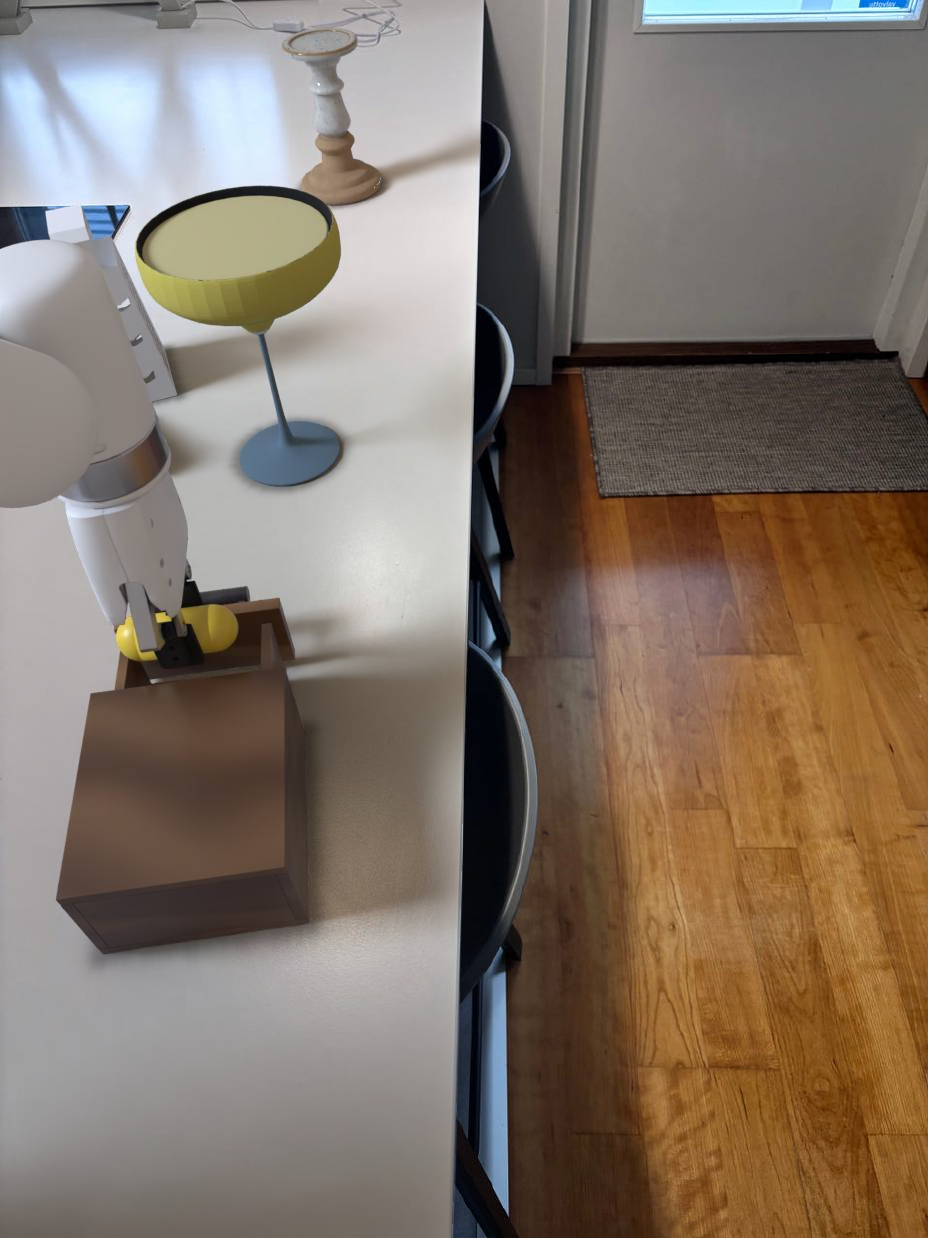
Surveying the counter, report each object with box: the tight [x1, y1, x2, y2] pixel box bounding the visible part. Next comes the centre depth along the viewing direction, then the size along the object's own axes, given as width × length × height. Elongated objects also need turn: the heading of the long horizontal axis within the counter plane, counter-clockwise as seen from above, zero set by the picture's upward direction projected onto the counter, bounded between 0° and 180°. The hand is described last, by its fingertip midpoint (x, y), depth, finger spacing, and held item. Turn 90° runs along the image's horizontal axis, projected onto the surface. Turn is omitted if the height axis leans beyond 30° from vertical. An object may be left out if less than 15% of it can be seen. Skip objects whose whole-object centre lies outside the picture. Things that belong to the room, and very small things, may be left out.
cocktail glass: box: [134, 185, 342, 487], centre depth 93 cm, size 18×18×25 cm
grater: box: [44, 203, 178, 402], centre depth 106 cm, size 10×10×20 cm
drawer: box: [113, 585, 296, 690], centre depth 76 cm, size 20×13×7 cm
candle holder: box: [281, 27, 382, 206], centre depth 137 cm, size 12×12×20 cm
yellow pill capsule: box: [115, 604, 238, 661], centre depth 71 cm, size 9×4×4 cm
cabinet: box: [55, 666, 310, 954], centre depth 69 cm, size 17×15×9 cm
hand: (185, 640), depth 72 cm, fingers closed on yellow pill capsule, 3 cm apart
